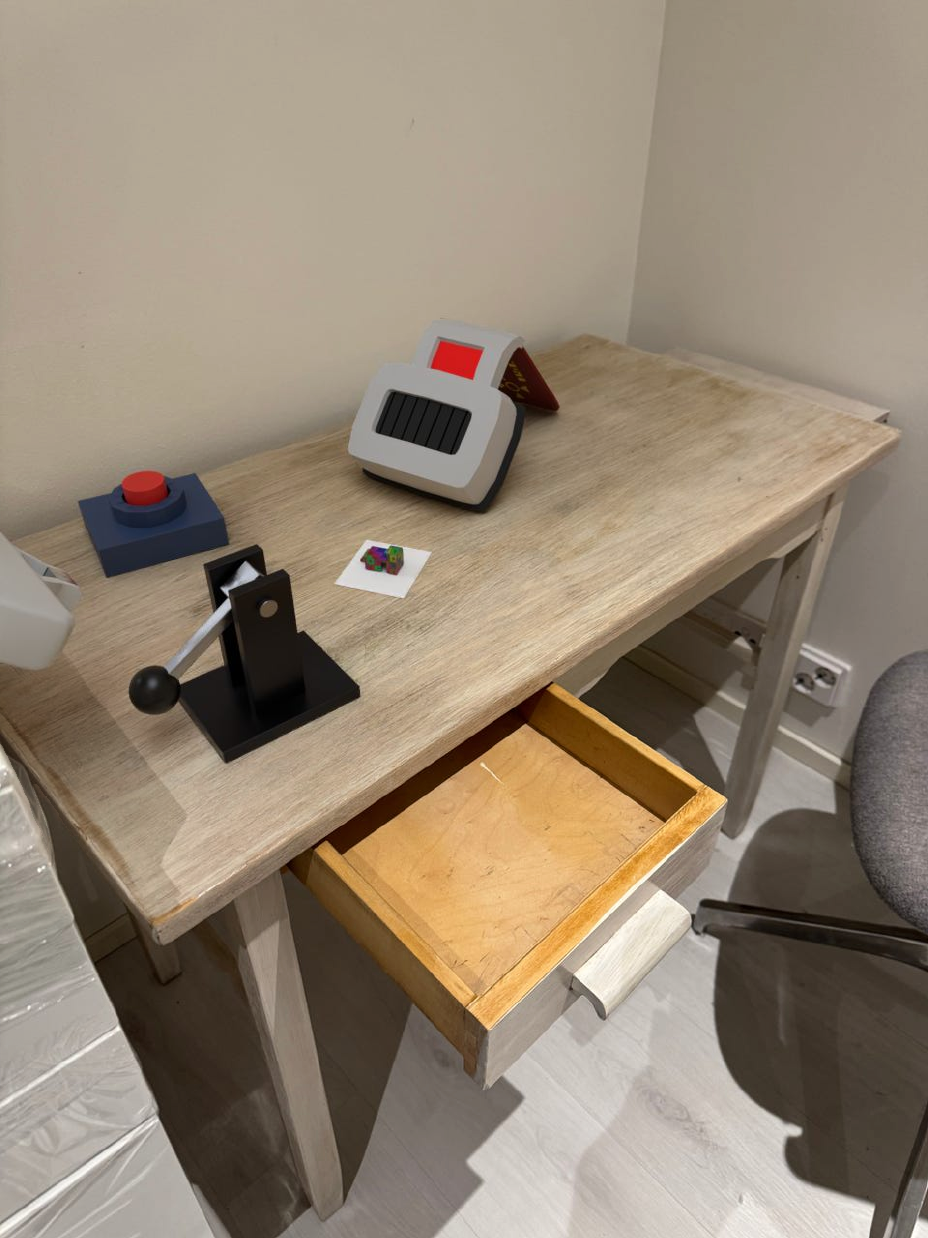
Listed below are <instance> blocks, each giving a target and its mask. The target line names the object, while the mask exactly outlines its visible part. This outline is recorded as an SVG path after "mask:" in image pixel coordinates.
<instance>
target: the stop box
mask: <svg viewBox="0 0 928 1238" xmlns="http://www.w3.org/2000/svg"><path fill="white" fill-rule="evenodd" d="M163 476H164V478H165V483H166V487H167V492H168V495H167V497H166V498H165V499H163V500H162V501H160V502H158V503H155V504H151V505H147V506H133V505H130V504H128V503H127V502H126V499H125V495H124V492H123V488H122V483H121V484H119V485H117V486H116V487H114V488H113V489H112V491H111V492H110V493H106V494H105V493H104V494H101V495H97V496H93V497H89V498H84V499H79V500H77V504H78V508H79V510H80V513H81V517H82V520H83V523H84V527H85V529H86V532H87V534H88V536H89V539H90V542H91V544H92V546H93V548H94V551H95V554H96V556H97V558H98V560H99V563H100V565H101V568H102V570H103V573H104V575H105V577H106V578H111V577H114V576H118V575H122V574H126V573H129V572H133V571H136V570H140V569H144V568H147V567H151V566H155V565H158V564H163V563H166V562H169V561H173V560H177V559H181V558H184V557H188V556H192V555H195V554H199V553H202V552H207V551H210V550H213V549H217V548H221V547H224V546H225V547H226V546H228V545H230V541H229V536H228V531H227V526H226V520H225V517H224V515H223V514H222V512H221V510H220V508H219V507H218V506H217V505H216V503H215V501H214V499H213V498H212V496H211V495H210V493H209V492H208V491H207V489H206V487H205V486H204V484H203V482H202V481H201V480H200V478H199V476H198V475H197V473H195V472H193V473H190V474H186V475H181V476H178V477H173V478H172V477H170V476H165V475H163Z"/></svg>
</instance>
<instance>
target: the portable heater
mask: <svg viewBox="0 0 928 1238" xmlns="http://www.w3.org/2000/svg"><path fill="white" fill-rule="evenodd" d="M525 342H526V341H525V339H524V338H523V337H522V336H521V335H520V334H516V333H512V332H509V331H506V330H502V329H498V328H493V327H489V326H484V325H480V324H475V323H471V322H466V321H462V320H457V319H451V318H444V317H440V318H439V319H436V320H434V321H432V323H431V324H429V326H428V327H427V328H426V329H425V330H424V331H423V332H422V334H421V337H420V339H419V341H418V344H417V347H416V349H415V352H414V354H413V358H412V361H411V363H406V362H401V361H385V362H383V363H382V364H381V365H380V366H379V367H378V369H377V370H376V372H375V374H374V376H373V377H372V379H371V380H370V382H369V384H368V386H367V388H366V391H365V393H364V395H363V399H362V401H361V403H360V406H359V409H358V411H357V413H356V416H355V418H354V421H353V423H352V426H351V430H350V435H349V440H348V445H347V452H348V453H349V455H350V456H351V457H352V459H353V460H354V461H355V463H356V464H357V465H358V466H360V467H361V468H362V474H364V475H365V476H366V477H368V478H370V479H373V480H375V481H377V482H380V483H382V484H385V485H389V486H392V487H394V488H397V489H401V490H404V491H407V492H409V493H411V494H414V495H415V494H416V495H418V496H422V497H425V498H429V499H430V500H431V499H432V500H435V501H438V502H442V503H445V504H448V505H452V506H455V507H458V508H461V509H465V510H470V511H475V512H486V511H487V510H488V509H489V508H490V507H491V505H492V503H493V502H494V500H495V499H496V497H497V495H498V494H499V492H500V491H501V488H502V487H503V484H504V483H505V480H506V478H507V475H508V472H509V470H510V467H511V465H512V462H513V459H514V457H515V454H516V452H517V450H518V447H519V444H520V441H521V439H522V434H523V429H524V424H525V418H526V407H525V406H524V405H526V406H530V407H534V408H537V409H542V410H545V411H549V412H558V411H559V410H560V408H561V406H560V405H559V404H560V403H559V402H558V400H557V398H556V396H555V395H554V393H553V391H552V389H551V388H550V387H549V385H548V383H547V382H546V381H545V379H544V377H543V375H542V374H541V372H540V371H539V369H538V367H537V366H536V364H535V363H534V361H533V360H532V358H531V357H530V355H529V354H528V352H527V350H526V348H525V347H524V344H525Z"/></svg>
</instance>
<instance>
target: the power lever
mask: <svg viewBox="0 0 928 1238" xmlns="http://www.w3.org/2000/svg"><path fill="white" fill-rule="evenodd" d="M263 576H264V575H263V574H262V573H261V572H259V571H258V570H257V569H256V568H255V567H253V566H252V565H251V564H250V563H249V562H247V561H245V562H244V563H243V564H242V565H241V566H240V567H239V568H238V569H237V570H236V571H235V573H234V574H233V575H232V576H231V577H230V578H229V579H228V580H227V581H226V582H225V583H224V584H223V585H222V586H221V587H220V589H221V590H222V591H223V592H224V593H225V594H226V596H227V597H228V598H227V599H226V600H225V602H224V603H223V604H222V605H221V606H220V607H219V608H218V609H217V610H216V611H215V612H214V613H213V612H212V614H211V615H210V617H209V618H207V619H206V621H205V622H204V623H203V624H202V625H201V626H200V627H199V628H198V629H197V630H196V631H195V632H194V633H193V635H192V636H191V637H189V639H188V640H187V641H186V642H185V643H184V644H183V645H182V646H181V647H180V649H178V650H177V652H176V653H175V654H174V655H173V656H172V657H171V658H170V659H169V660H168V661H167V663H165V664H164V665H156V664H155V665H148V666H145V667H142V668H141V669H140V670H138V671H137V672H135V674H134V675H133V676H132V678H131V679H130V682H129V685H128V697H129V700H130V703H131V704H132V705H133V707H134V708H135V709H136V710H138V711H139V712H141V713H143V714H145V715H149V716H158V715H163V714H165V713H168V712H169V711H171V710H172V709H174V708H175V707H176V705H177V704H178V702H179V701H178V700H179V697H180V694H181V686H180V684H181V682H180V678H181V677H182V676H183V675H184V674H185V673H186V672H187V671H188V670H189V669H190V667H192V665H193V664H194V663H196V661H197V660H198V659H199V658H200V657H201V656H202V655H203V654H204V653H205V652H206V650H207V649H208V648H209V647H210V646H211V645H212V644H213V643H214V642H215V641H216V640H217V639H218V638H219V637H218V636H219V635H220V634H221V633H222V632H223V631H224V630H225V629H226V628H227V627H228V626H229V625H230V623H231V622H232V621H233V620H234V619H233V614H232V609H231V604H230V599H229V594H228V590H230V589H233V588H235V587H238V586H240V585H243V584H245V583H248V582H250V581H253V580H255V579H258V578H260V577H263Z"/></svg>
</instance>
